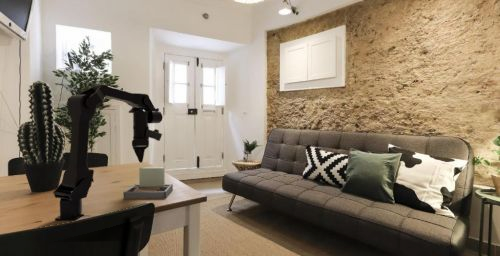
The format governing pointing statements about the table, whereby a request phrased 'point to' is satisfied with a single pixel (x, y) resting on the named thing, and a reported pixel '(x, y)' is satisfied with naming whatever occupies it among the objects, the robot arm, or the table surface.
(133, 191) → the offcut top
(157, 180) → the board
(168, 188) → the rack
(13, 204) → the table surface
